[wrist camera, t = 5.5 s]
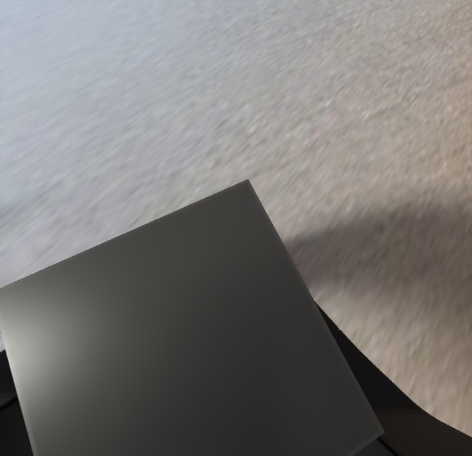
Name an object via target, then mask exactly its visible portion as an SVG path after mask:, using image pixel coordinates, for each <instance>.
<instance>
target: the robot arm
mask: <svg viewBox="0 0 472 456" xmlns="http://www.w3.org/2000/svg"><path fill="white" fill-rule="evenodd" d="M314 302H315V301H314ZM315 304H316V306H317V307H318V309H319V311H320V313H321V315H322V317H323V319H324V320H325V322H326V324H327V326H328V328H329V330H330V331H331V333H332V335H333V337H334V339H335V341H336V343H337V344H338V346H339V348H340V350H341V352H342V354H343V356H344V357H345V359H346V361H347V363H348V365H349V367H350V369H351V370H352V372H353V374H354V376H355V378H356V380H357V381H358V383H359V385H360V387H361V389H362V391H363V393H364V394H365V396H366V398H367V400H368V402H369V404H370V406H371V407H372V409H373V411H374V413H375V415H376V417H377V419H378V420H379V422H380V424H381V426H382V428H383V430H384V432H385V433H384V434H382V435H381V436H379V437H378V438H377V439H375V440H374V441H372V442H371V443H369V444H368V445H367V446H365V447H364V448H362V449H361V450H360V451H358V452H357V453H355V454H354V455H353V456H472V437H470V436H468V435H466V434H465V433H463V432H461V431H459V430H457V429H455V428H453V427H451V426H449V425H447V424H445V423H443V422H441V421H440V420H438V419H436V418H435V417H433V416H431V415H430V414H428V413H427V412H426V411H424V410H423V409H422V408H420V407H419V406H418V405H417V404H415V403H414V402H413V401H412V400H411V399H410V398H409V397H408V396H407V395H406V394H404V393H403V392H402V391H401V390H400V389H399V388H398V387H397V386H396V385H395V384H394V383H393V382H392V381H391V380H390V379H389V378H388V377H387V376H386V375H384V374H383V373H382V372H381V371H380V370H379V369H378V368H377V367H376V366H375V365H374V364H373V363H372V362H371V361H370V360H369V359H368V358H367V357H366V356H365V355H364V354H363V353H362V352H361V351H360V350H359V349H358V348H357V347H356V346H355V345H354V344H353V343H352V342H351V341H350V340H349V339H348V338H347V336H346V335H345V334H344V333H343V332H342V331H341V330H339V328H338V327H337V326H336V324H335V323H334V322H333V321H332V320H331V319H330V318H329V317H328V316H327V314H326V313H325V312H324V311H323V310H322V309H321V308H320V307H319V306H318V304H317V303H316V302H315ZM0 456H34V455H33V451H32V447H31V443H30V440H29V436H28V432H27V428H26V424H25V421H24V417H23V413H22V409H21V406H20V402H19V398H18V394H17V391H16V387H15V383H14V379H13V376H12V372H11V368H10V364H9V361H8V357H7V353H6V349H5V350H3V351H2V352H0Z"/></svg>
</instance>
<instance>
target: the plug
mask: <svg viewBox="0 0 472 456" xmlns="http://www.w3.org/2000/svg"><path fill="white" fill-rule="evenodd" d="M0 331H1V334H2V338H3V342H4V346H5V349H6V353H7V357H8V361H9V364H10V368H11V372H12V376H13V379H14V383H15V387H16V391H17V394H18V398H19V402H20V406H21V409H22V413H23V417H24V421H25V424H26V428H27V432H28V436H29V440H30V443H31V447H32V451H33V455H34V456H353V455H354V454H355V453H357V452H358V451H360V450H361V449H362V448H364V447H365V446H367V445H368V444H369V443H371V442H372V441H374V440H375V439H377V438H378V437H379V436H381V435H382V434H384V433H385V432H384V430H383V428H382V426H381V424H380V422H379V420H378V419H377V417H376V415H375V413H374V411H373V409H372V407H371V406H370V404H369V402H368V400H367V398H366V396H365V394H364V393H363V391H362V389H361V387H360V385H359V383H358V381H357V380H356V378H355V376H354V374H353V372H352V370H351V369H350V367H349V365H348V363H347V361H346V359H345V357H344V356H343V354H342V352H341V350H340V348H339V346H338V344H337V343H336V341H335V339H334V337H333V335H332V333H331V331H330V330H329V328H328V326H327V324H326V322H325V320H324V319H323V317H322V315H321V313H320V311H319V309H318V307H317V306H316V304H315V302H314V300H313V298H312V296H311V294H310V293H309V291H308V289H307V287H306V285H305V283H304V281H303V280H302V278H301V276H300V274H299V272H298V270H297V269H296V267H295V265H294V263H293V261H292V259H291V257H290V256H289V254H288V252H287V250H286V248H285V246H284V244H283V243H282V241H281V239H280V237H279V235H278V233H277V231H276V230H275V228H274V226H273V224H272V222H271V220H270V219H269V217H268V215H267V213H266V211H265V209H264V207H263V206H262V204H261V202H260V200H259V198H258V196H257V194H256V193H255V191H254V189H253V187H252V185H251V183H250V181H249V180H248V179H247V180H245V181H243V182H240V183H238V184H236V185H234V186H231V187H229V188H227V189H225V190H222V191H220V192H218V193H215V194H213V195H211V196H209V197H206V198H204V199H202V200H200V201H197V202H195V203H193V204H190V205H188V206H186V207H184V208H181V209H179V210H177V211H175V212H172V213H170V214H168V215H165V216H163V217H161V218H159V219H156V220H154V221H152V222H150V223H147V224H145V225H143V226H140V227H138V228H136V229H134V230H131V231H129V232H127V233H125V234H122V235H120V236H118V237H115V238H113V239H111V240H109V241H106V242H104V243H102V244H100V245H97V246H95V247H93V248H90V249H88V250H86V251H84V252H81V253H79V254H77V255H75V256H72V257H70V258H68V259H65V260H63V261H61V262H59V263H56V264H54V265H52V266H50V267H47V268H45V269H43V270H40V271H38V272H36V273H34V274H31V275H29V276H27V277H25V278H22V279H20V280H18V281H15V282H13V283H11V284H9V285H6V286H4V287H2V288H0Z"/></svg>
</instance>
